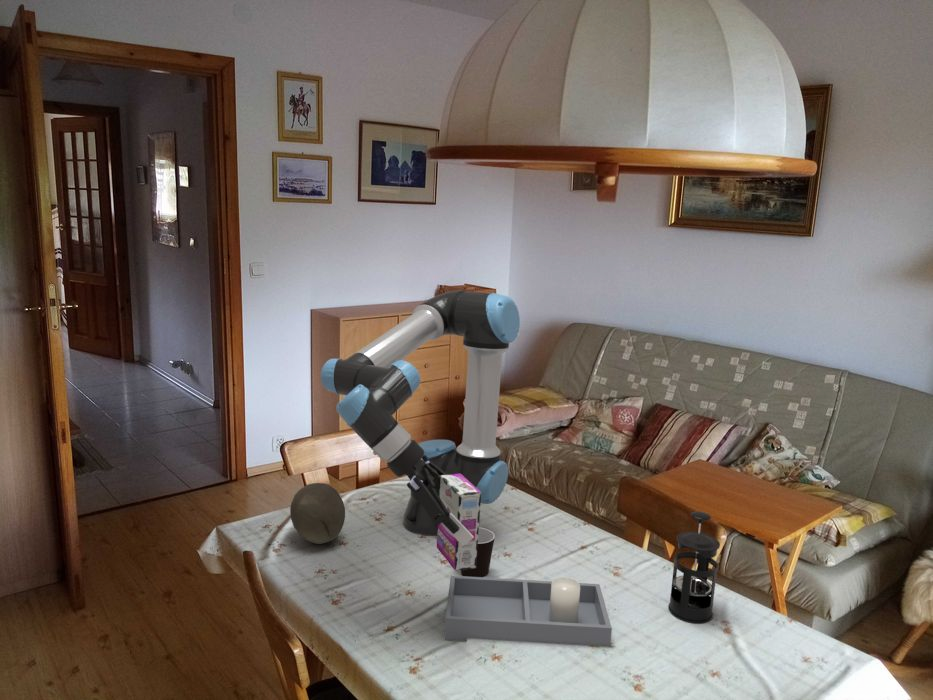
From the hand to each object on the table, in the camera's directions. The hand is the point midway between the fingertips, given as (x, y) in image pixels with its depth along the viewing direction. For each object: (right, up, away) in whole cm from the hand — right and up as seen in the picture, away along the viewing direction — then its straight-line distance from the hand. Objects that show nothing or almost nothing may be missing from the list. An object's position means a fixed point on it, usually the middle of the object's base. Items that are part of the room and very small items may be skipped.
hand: (470, 527), depth 145 cm
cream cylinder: (+20, -21, +4) cm, 29 cm away
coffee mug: (+1, -17, +25) cm, 30 cm away
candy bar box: (-3, -7, +2) cm, 8 cm away
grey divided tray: (+12, -21, +5) cm, 24 cm away
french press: (+49, -21, +11) cm, 55 cm away
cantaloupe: (-39, -13, +37) cm, 55 cm away
